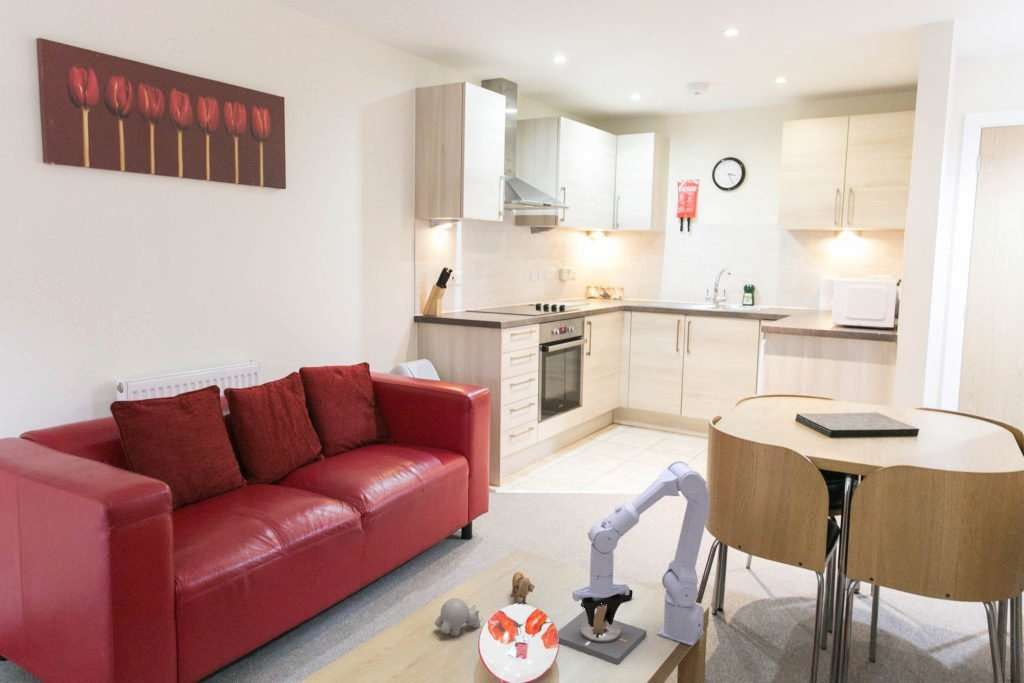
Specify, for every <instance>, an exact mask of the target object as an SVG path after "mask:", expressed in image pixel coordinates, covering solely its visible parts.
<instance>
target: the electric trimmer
mask: <svg viewBox="0 0 1024 683" xmlns="http://www.w3.org/2000/svg"><path fill="white" fill-rule="evenodd" d="M620 597H621V598H622V603H623V602H625V601H628V600H630V599H632V597H633V590H632V589H629V595H625V594H620ZM593 600H594V603H595V604H596V608H598V606H602V607H603V606H607V603H606V598H599V597H597V598H593ZM601 603H602V604H601ZM580 607H581V608H583V607H584V605H583V603H582V602H581V603H580ZM584 608H585V607H584ZM584 608H583V609H584Z"/></svg>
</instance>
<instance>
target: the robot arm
mask: <svg viewBox="0 0 1024 683" xmlns="http://www.w3.org/2000/svg"><path fill="white" fill-rule="evenodd" d="M679 492H680V493H681V494H682V496H683V498H685V500H686V501H687V503H686V507H685V511H684V516H683V521H682V524H681V529H680V533H679V538H678V543H677V548H676V550H675V555H674V559H673V560H671V562H669V563H668V567H667V569H666V570H665V571H664V573H663V575H662V579H661V581H662V586H663V587H664V589H665V595H664V608H663V609H664V613H663V627H662V628H661V629H659V631H658V632H657V635H658V636H660V637H664V638H667V639H669V640H673V641H676V642H679V643H682V644H686V645H689V646H693V647H694V646H695V644H696V643H697V642H698V640H700V638H701V637H702V636H703V635H704V634H705V631H704V614H705V613H704V607H703V606H702V605H700V604H698V603H696V601H697V599H698V598H699V592H698V581H699V580H698V576H697V571H696V566H697V561H698V557H699V552H700V549H701V543H702V539H703V536H704V531H705V527H706V522H707V517H708V515H709V514H708V512H709V510H710V505H711V498H710V495H709V494H710V493H709V492H708V487H707V481H706V480H705V478H704V477H703V476H702V475H701V474H700V473H699V472H697V471H695V470H694V469H693V468H691V467H690V466H689V465H688V464H687V463H686V462H684V461H680V460H677V461H673V462H671V463H670V464H669V465H668V467H666V468H664V469H663V470H661V472H660V474H659V475H658V477H657V478H656V479H655V480H654V481H653V482H651V484H649V486H648V487H646V488H645V490H644V491H643V492H641V493H640V494H639V495H638V496H637V497H636V498H635V499H634V500H633V501H632V502H631V503H622V504H621V505H617V506H616V507H614V509H615V510H614V511H613V512H612V513H611V514H610V515H608V516H607V517H606V518H605V519H604V518H603V519H602V520H601V521H600V522H599V523H595V524H593V526H591V528H590V529H589V530H590V531H589V532H587V537H588V539H589V541H590V542H591V544H590V556H589V557H590V560H589V561H590V564H589V567H590V568H589V570H590V571H589V585H588V586H586V587H582V588H579V589H576V590H575V589H574V590H572V599H573V600H574V602H580V601H581V603H583V605H584V607H585V609H584V610H585V611H586V613H587V617H588V624H589V625H590V626H591V627H593V621H594V615H595V613H596V609H597V607H596V604H595V603H594V600H593V598H597V597H599V598H606V603H607V605H606V607H607V622H608V623H609V624H610V625H612V623H613V620H615V615H616V613H617V611H618V609H619V607H620V605H622V603H623V602H622V598H621V597H620V594H625V595H629V590H630V587H629V586H628V584H626V583H625V584H614V559H615V558H614V550H615V549H616V548H617V546H618V542H619V540H620V539H621V538H622V537H623V536H624V535H625V534H626V533H628V532H629V531H630V530H632V529H633V527H635V526H636V525H637V524H638V523H639V522H640V516H641V515H642V514H643V513H644V512H645V511H646V510H648V509H650V508H651V507H652V506H653V505H655V504H656V503H657V502H659V501H660V500H661V499H662V498H664V497H665V496H666V497H667V496H669V497H680V493H679Z"/></svg>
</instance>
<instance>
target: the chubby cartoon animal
mask: <svg viewBox="0 0 1024 683" xmlns="http://www.w3.org/2000/svg"><path fill="white" fill-rule="evenodd" d="M475 607H476V605H475V604H474V605H472V607H470V608H468V605H467V603H466V602H465V601H464V600H462V599H460V598H456V597H453V598H449V599H448V600H446V601H445V602H444V603H443V605H442V606H441V608H440V615H439V616H437V618H436V619H435V622H434V626H436V627H438V628H440V630H439V631H440V633H442V634H445V635H448V634H450V635H452V636H454V637H458V636H460V634H461V629H462V627H463V626H464V625H467V626H470V627H471V628H473V629H477V628H478V627H479V626H480V625H481V622H482V621H483V619H484V618H483V617H484V615H481V616H479V613H480V610H476V609H475Z"/></svg>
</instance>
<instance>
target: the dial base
mask: <svg viewBox="0 0 1024 683" xmlns="http://www.w3.org/2000/svg"><path fill="white" fill-rule="evenodd" d="M594 616H595V615H594ZM586 620H588V617H587V613H586V610H585V609H583V611H582V612H581V613H579V614H578V615H577V616H576V617H574V618H573V619H572V620H570V621H569V622H568V623H566V624H564V626H562V628H560V629H559V630H557V632H558V638H559V643H558V644H560V645H563V646H566V647H567V648H571V649H574V650H576V651H579V652H581V653H585V654H587V655H590V656H593V657H596V658H599V659H601V660H604V661H607V662H609V663H612V664H615V665H619V664H620V663H621V662H622V661H623V660H624V659H625V658H626V657H627V656H628V655H629V654H631V652H632V651H633V650H634V649H635V648H636V647H637V646H639V644H640V643H641V642H642V641H643V640H644V639H645V638H647V635H648V634H647V633H648V632H647V630H646V629H643V628H639V627H636V626H633V625H631V624H627V623H625V622H622V621H619V620H616V619H613V622H615V623H616V624H618V625H619V627H620V636H619V637H618V638H617V639H616V640H614V641H610V642H595V641H591V640H589V639H587V638H585V637H584V636H583V635H582V634H581V632H580V626H581V624H582V623H583V622H584V621H586Z"/></svg>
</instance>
